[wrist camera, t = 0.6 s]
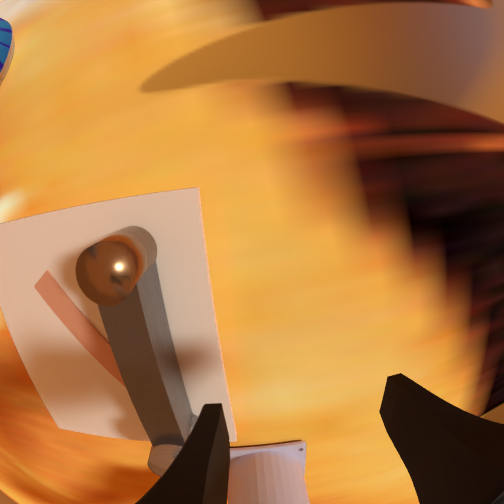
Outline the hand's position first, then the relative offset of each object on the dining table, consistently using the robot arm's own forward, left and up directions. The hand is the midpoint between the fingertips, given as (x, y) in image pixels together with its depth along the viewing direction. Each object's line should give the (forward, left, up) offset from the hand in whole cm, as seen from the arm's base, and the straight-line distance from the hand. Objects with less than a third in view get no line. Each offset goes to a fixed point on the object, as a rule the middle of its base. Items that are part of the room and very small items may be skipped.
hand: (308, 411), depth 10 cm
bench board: (-2, +13, -9) cm, 16 cm away
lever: (-2, +8, -8) cm, 12 cm away
